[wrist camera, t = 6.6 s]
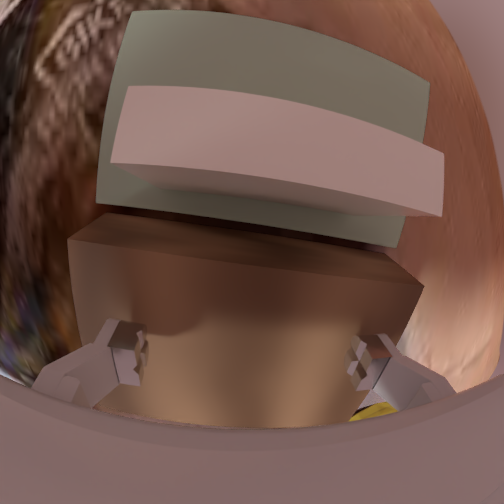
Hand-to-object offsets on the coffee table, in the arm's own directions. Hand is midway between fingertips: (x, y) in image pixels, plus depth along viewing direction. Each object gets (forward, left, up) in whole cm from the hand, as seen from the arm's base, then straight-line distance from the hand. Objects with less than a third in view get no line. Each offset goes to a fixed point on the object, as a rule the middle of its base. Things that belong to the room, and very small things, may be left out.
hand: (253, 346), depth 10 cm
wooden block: (0, -2, -5) cm, 5 cm away
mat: (0, +8, -5) cm, 10 cm away
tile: (0, +5, -1) cm, 6 cm away
